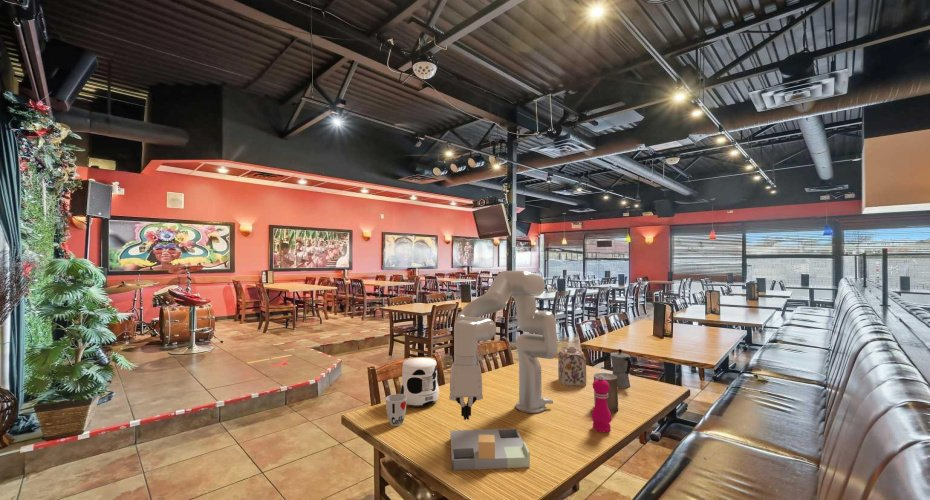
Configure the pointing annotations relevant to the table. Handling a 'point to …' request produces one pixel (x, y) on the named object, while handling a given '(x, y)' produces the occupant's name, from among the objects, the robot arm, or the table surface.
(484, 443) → the block
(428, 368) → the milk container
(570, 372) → the decorative jar
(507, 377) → the table surface
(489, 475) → the table surface
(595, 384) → the pepper mill
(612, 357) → the coffeepot
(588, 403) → the table surface
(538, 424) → the table surface
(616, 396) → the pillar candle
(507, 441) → the grey sorting tray
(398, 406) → the cup
